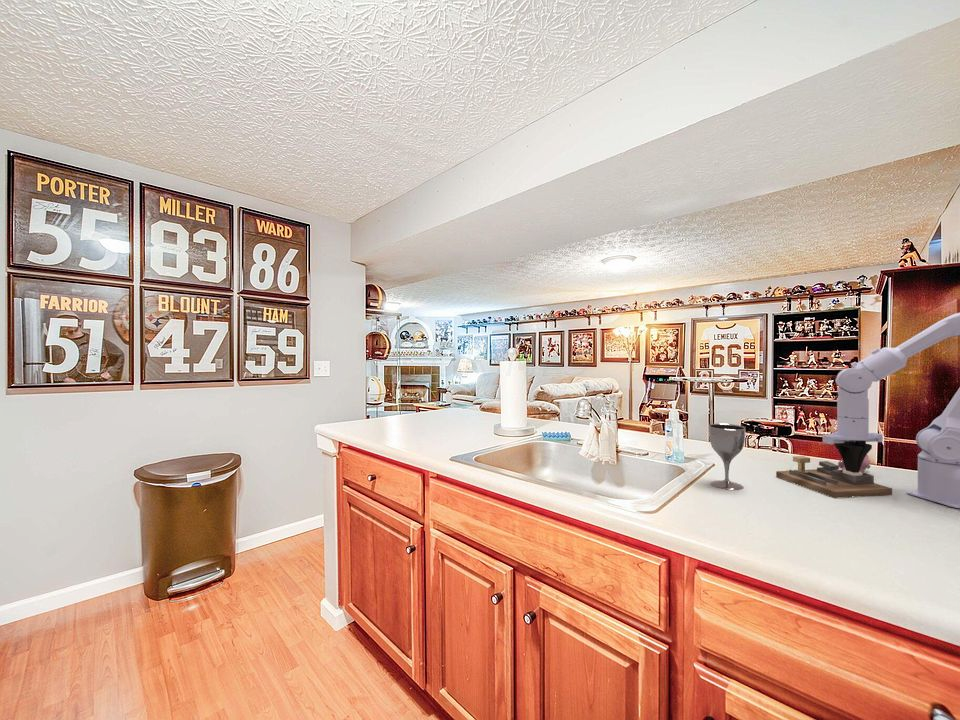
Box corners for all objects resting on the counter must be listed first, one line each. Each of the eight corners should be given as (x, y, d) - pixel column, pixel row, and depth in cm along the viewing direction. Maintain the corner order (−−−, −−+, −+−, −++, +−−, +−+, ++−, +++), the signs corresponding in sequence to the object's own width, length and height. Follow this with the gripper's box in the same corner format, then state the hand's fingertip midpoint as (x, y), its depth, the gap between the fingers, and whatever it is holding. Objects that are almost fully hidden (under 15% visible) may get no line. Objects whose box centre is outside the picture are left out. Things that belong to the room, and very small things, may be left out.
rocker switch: (838, 469, 106) (839, 466, 105) (830, 470, 105) (830, 466, 105) (826, 464, 109) (827, 461, 109) (818, 465, 108) (819, 461, 108)
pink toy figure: (860, 483, 108) (876, 461, 106) (839, 473, 110) (855, 451, 108) (854, 473, 116) (870, 453, 114) (835, 464, 118) (850, 444, 116)
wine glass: (709, 487, 101) (709, 428, 101) (708, 478, 108) (708, 422, 108) (747, 492, 98) (747, 430, 97) (743, 482, 105) (743, 424, 104)
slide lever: (810, 475, 104) (810, 458, 104) (800, 475, 104) (800, 458, 104) (802, 472, 107) (802, 455, 107) (792, 472, 106) (792, 456, 106)
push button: (866, 481, 99) (866, 473, 99) (853, 482, 98) (853, 473, 98) (851, 476, 102) (851, 468, 102) (838, 477, 102) (838, 469, 102)
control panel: (891, 494, 95) (892, 479, 95) (834, 498, 93) (834, 483, 93) (826, 474, 111) (826, 461, 111) (776, 476, 109) (776, 463, 109)
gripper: (861, 413, 105) (861, 465, 105) (811, 415, 103) (811, 468, 104) (892, 417, 98) (891, 473, 98) (838, 419, 96) (838, 476, 97)
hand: (852, 471), depth 100 cm, fingers closed, pressing on push button
